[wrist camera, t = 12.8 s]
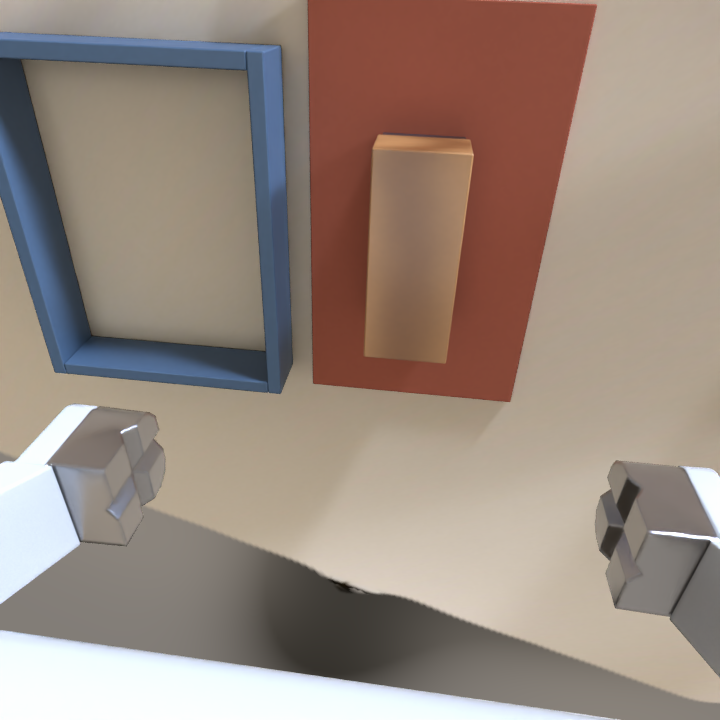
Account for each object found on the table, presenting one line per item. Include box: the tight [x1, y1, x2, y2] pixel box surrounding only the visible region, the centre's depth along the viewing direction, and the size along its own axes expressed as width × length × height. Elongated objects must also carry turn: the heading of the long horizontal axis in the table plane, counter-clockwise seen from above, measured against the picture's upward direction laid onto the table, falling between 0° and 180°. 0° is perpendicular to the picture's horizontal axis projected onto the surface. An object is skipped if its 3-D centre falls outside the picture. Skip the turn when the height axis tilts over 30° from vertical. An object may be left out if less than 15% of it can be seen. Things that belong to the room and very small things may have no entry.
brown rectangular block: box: [364, 132, 474, 364], centre depth 30 cm, size 4×11×4 cm, turn 178°
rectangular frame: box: [0, 32, 293, 394], centre depth 32 cm, size 15×19×4 cm
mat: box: [308, 0, 597, 402], centre depth 32 cm, size 13×22×1 cm, turn 178°
